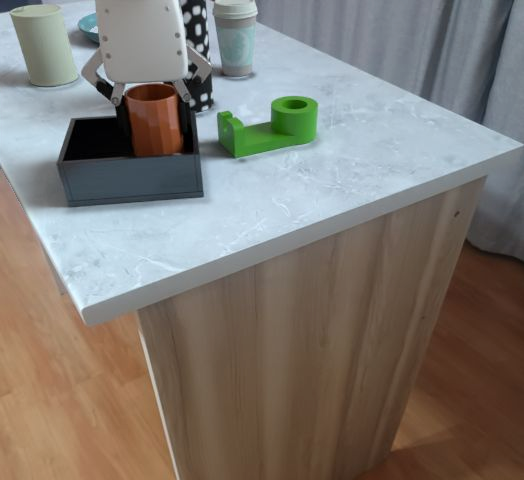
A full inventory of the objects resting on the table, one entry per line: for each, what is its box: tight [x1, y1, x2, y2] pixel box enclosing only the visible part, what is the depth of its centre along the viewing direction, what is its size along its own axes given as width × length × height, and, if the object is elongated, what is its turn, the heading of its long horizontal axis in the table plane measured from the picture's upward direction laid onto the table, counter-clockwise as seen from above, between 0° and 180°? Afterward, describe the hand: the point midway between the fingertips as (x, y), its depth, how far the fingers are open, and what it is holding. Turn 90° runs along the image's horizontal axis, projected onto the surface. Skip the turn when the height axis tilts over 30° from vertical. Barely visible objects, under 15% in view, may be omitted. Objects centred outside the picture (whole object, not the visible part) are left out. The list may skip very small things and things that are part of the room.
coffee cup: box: [211, 0, 259, 77], centre depth 99 cm, size 8×9×12 cm
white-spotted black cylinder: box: [162, 0, 215, 113], centre depth 84 cm, size 8×8×20 cm
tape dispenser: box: [216, 95, 319, 159], centre depth 79 cm, size 15×7×5 cm, turn 116°
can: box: [9, 3, 79, 87], centre depth 97 cm, size 9×9×12 cm
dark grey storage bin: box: [55, 110, 205, 208], centre depth 70 cm, size 17×14×6 cm
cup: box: [123, 82, 185, 156], centre depth 69 cm, size 7×7×9 cm
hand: (156, 130), depth 69 cm, fingers closed on cup, 6 cm apart
